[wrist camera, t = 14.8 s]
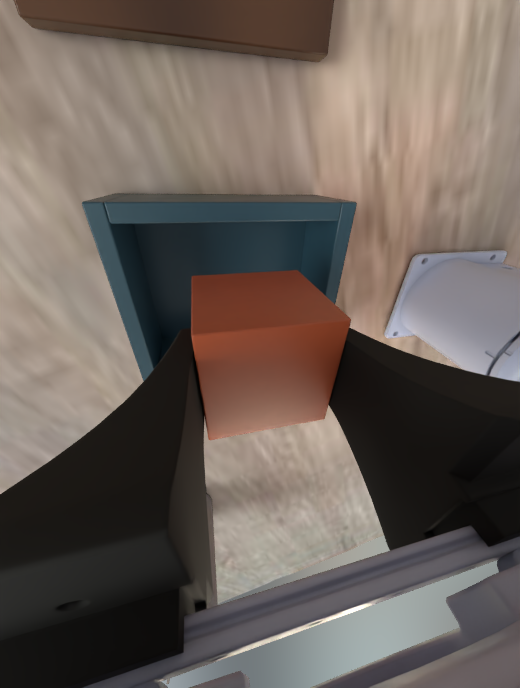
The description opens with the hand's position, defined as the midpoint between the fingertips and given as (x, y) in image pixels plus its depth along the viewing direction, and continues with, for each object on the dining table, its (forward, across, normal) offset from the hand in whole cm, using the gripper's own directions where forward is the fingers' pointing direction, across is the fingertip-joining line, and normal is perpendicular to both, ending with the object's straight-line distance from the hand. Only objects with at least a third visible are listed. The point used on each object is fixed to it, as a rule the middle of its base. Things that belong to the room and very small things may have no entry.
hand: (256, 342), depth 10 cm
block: (+2, 0, 0) cm, 2 cm away
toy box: (+9, 0, 0) cm, 9 cm away
